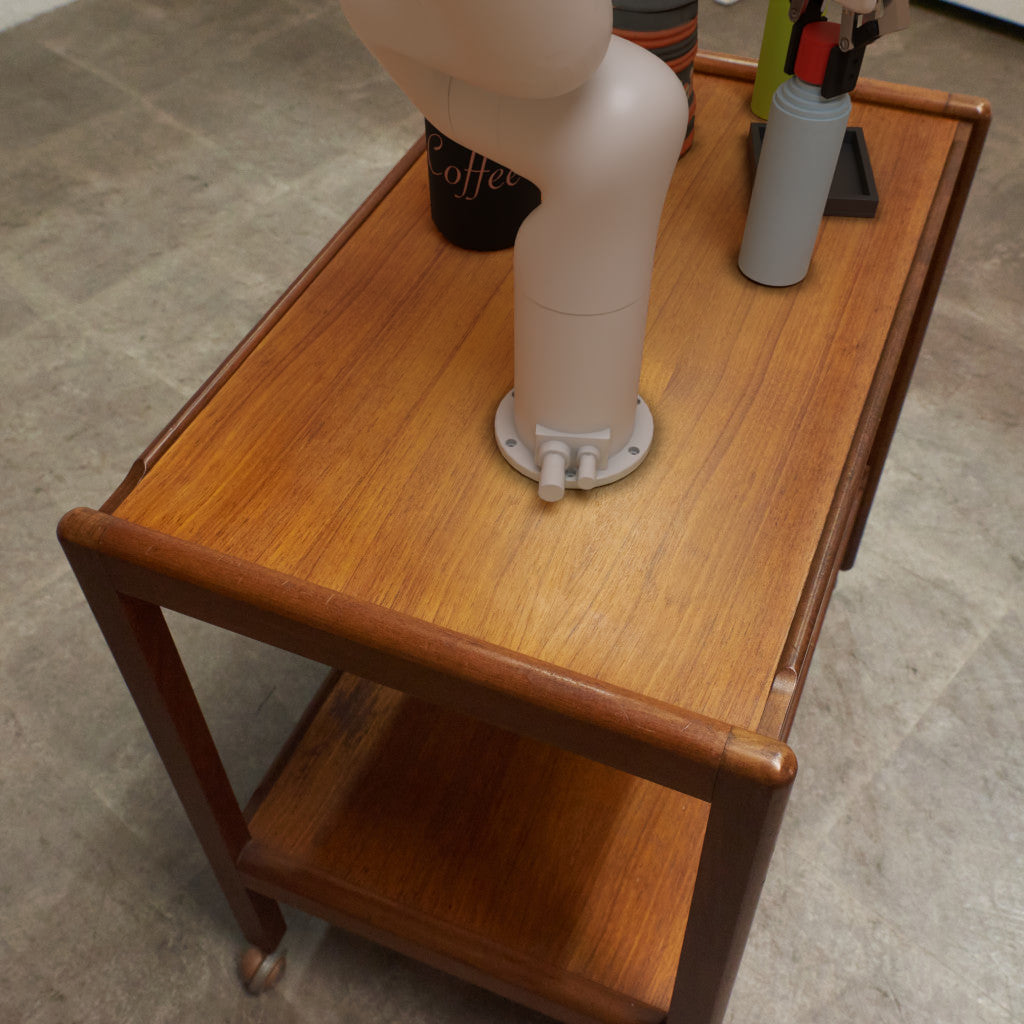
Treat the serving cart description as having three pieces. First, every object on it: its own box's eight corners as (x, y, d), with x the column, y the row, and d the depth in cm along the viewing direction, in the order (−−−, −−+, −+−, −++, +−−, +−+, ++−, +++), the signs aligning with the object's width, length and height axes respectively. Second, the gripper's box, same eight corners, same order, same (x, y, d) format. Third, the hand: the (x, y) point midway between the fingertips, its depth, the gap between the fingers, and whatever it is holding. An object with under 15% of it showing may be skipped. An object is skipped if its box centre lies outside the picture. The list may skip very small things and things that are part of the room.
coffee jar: (412, 239, 102) (396, 56, 88) (462, 182, 108) (454, 3, 95) (512, 267, 99) (512, 82, 86) (558, 208, 105) (564, 27, 92)
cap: (821, 58, 87) (830, 17, 85) (854, 78, 85) (865, 36, 82) (783, 68, 86) (792, 27, 83) (816, 89, 83) (826, 47, 81)
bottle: (810, 288, 97) (873, 61, 81) (739, 283, 97) (788, 56, 81) (804, 248, 101) (862, 24, 85) (736, 243, 101) (782, 20, 85)
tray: (874, 218, 104) (879, 200, 103) (754, 212, 105) (758, 194, 103) (857, 144, 113) (862, 127, 112) (747, 139, 114) (750, 122, 112)
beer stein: (498, 148, 113) (495, -50, 98) (546, 84, 122) (551, -107, 106) (671, 185, 108) (696, -18, 93) (708, 115, 117) (737, -80, 102)
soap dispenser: (812, 97, 119) (855, -96, 104) (796, 127, 115) (838, -70, 100) (761, 87, 121) (796, -105, 106) (744, 115, 117) (777, -80, 102)
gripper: (1013, -152, 69) (927, 115, 82) (836, -219, 78) (786, 31, 92) (929, -132, 66) (855, 140, 80) (756, -204, 75) (717, 51, 89)
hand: (818, 79), depth 86 cm, fingers closed on cap, 3 cm apart
